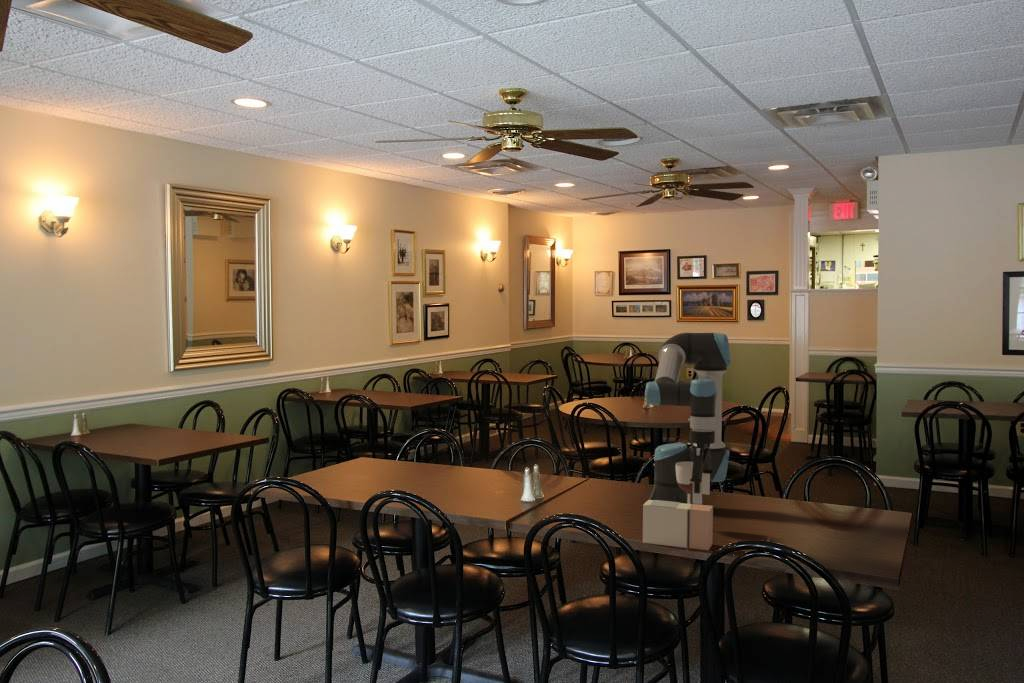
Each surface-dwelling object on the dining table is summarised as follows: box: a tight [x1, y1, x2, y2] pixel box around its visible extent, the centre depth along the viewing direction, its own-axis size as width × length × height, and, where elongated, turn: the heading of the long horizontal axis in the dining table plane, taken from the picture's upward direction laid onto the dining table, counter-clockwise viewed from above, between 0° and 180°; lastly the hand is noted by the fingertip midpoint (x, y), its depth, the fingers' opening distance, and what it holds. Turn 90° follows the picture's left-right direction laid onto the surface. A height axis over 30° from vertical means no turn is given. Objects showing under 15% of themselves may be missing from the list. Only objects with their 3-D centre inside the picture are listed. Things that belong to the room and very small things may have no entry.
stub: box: [689, 503, 714, 551], centre depth 247 cm, size 7×6×12 cm
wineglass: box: [676, 462, 693, 504], centre depth 267 cm, size 9×10×22 cm
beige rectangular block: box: [642, 499, 693, 549], centre depth 251 cm, size 7×14×12 cm, turn 67°
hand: (701, 498), depth 246 cm, fingers open, 13 cm apart
